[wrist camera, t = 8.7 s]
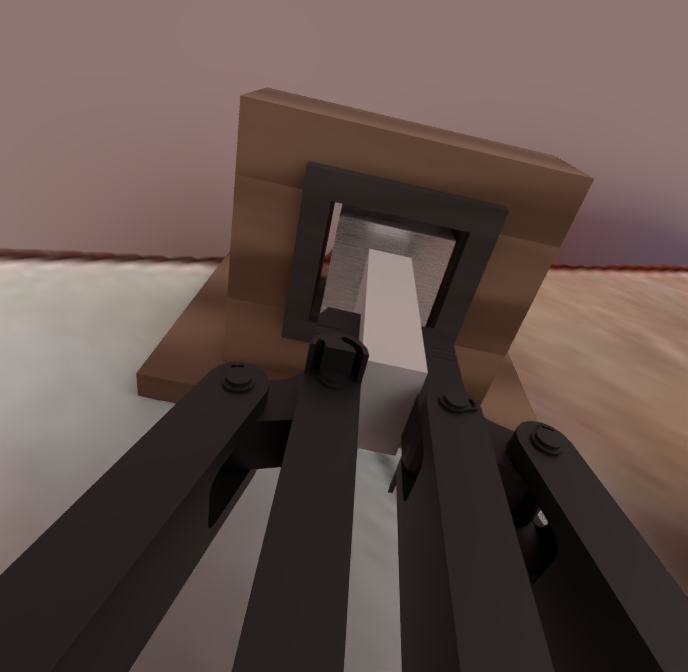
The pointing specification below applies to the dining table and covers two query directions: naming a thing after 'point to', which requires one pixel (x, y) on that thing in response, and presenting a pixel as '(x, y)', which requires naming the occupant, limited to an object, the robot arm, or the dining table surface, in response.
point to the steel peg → (391, 237)
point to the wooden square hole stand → (382, 196)
